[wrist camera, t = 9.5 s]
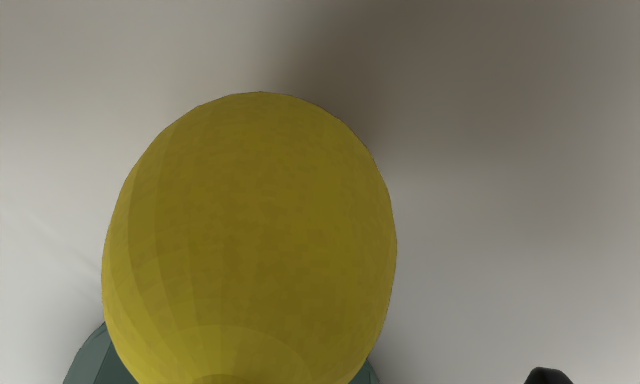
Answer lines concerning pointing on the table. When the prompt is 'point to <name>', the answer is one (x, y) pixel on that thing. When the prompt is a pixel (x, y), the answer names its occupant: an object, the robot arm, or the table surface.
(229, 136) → the lemon
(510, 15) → the table surface
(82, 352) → the pot
